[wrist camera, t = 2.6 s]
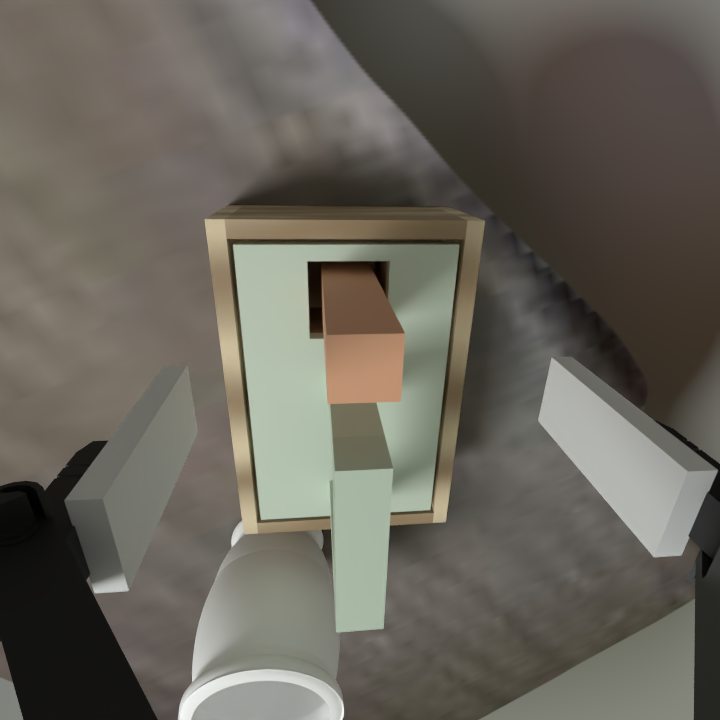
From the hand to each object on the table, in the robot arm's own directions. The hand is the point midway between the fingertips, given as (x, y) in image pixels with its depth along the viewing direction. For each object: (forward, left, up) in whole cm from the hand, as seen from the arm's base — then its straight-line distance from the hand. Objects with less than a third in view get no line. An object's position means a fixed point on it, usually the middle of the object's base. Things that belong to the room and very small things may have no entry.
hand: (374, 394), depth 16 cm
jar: (+25, -6, -18) cm, 32 cm away
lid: (+6, 0, -12) cm, 13 cm away
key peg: (0, 0, -17) cm, 17 cm away
